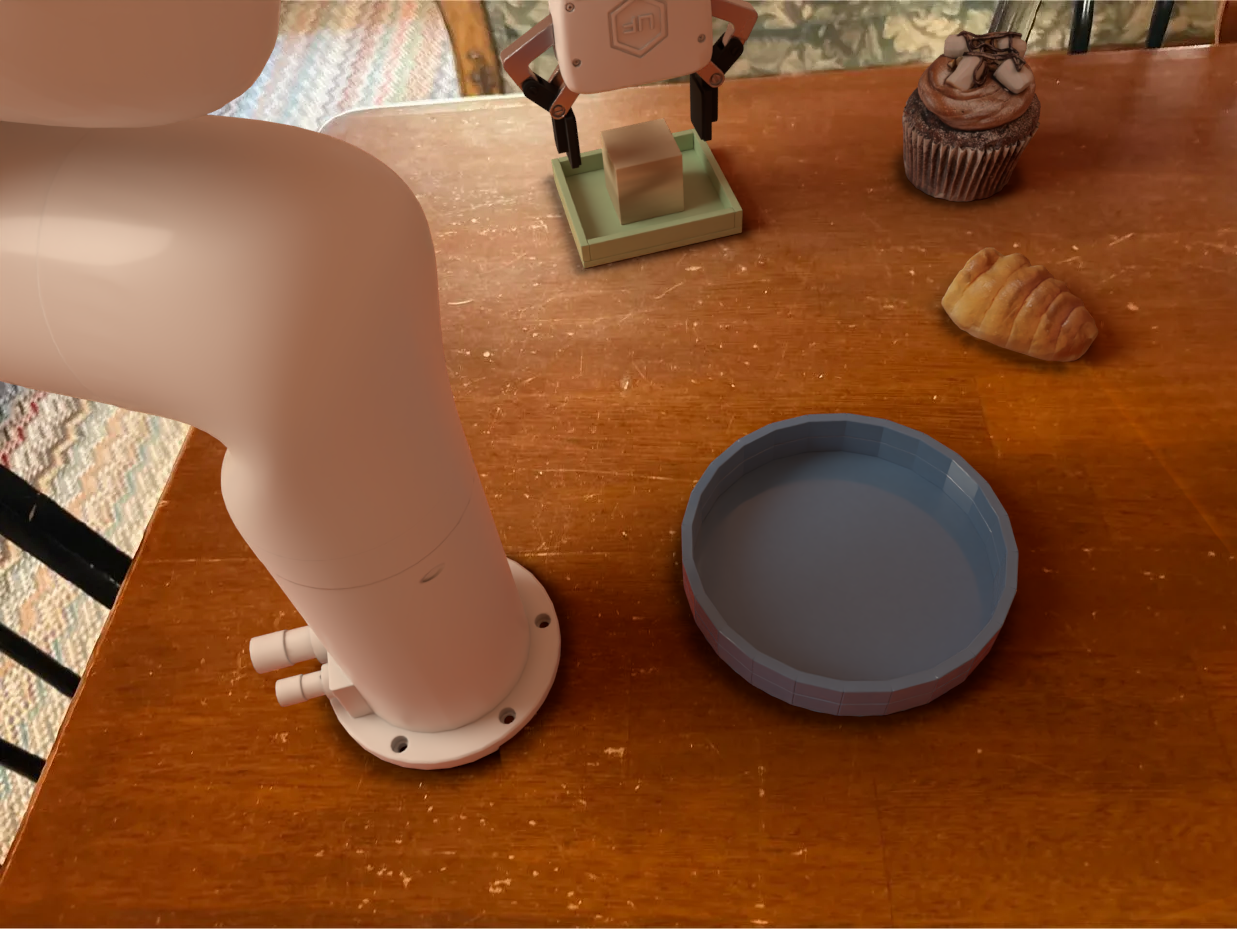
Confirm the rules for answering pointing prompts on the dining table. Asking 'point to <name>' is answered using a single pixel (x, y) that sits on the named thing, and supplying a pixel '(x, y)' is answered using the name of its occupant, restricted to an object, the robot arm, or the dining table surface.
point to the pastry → (1019, 307)
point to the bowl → (847, 563)
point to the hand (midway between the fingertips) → (637, 144)
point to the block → (643, 171)
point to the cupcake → (970, 117)
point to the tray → (609, 241)
